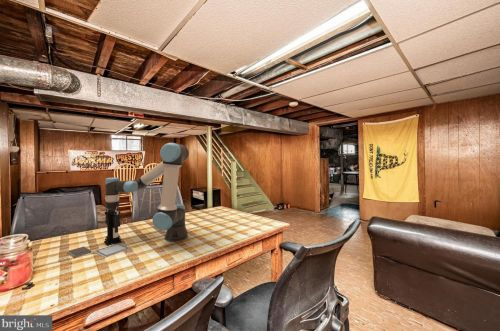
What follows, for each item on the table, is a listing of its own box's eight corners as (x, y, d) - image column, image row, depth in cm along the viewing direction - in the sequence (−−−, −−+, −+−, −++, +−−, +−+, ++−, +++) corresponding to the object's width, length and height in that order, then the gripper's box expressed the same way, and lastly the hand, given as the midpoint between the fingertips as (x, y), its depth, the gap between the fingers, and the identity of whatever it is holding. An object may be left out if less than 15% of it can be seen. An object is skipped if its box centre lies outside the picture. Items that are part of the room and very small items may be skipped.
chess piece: (103, 242, 134) (103, 212, 134) (118, 239, 140) (117, 209, 139) (107, 245, 128) (106, 214, 128) (121, 242, 134) (121, 211, 134)
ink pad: (84, 248, 124) (84, 246, 124) (91, 252, 119) (91, 249, 119) (67, 253, 117) (67, 250, 117) (74, 257, 112) (74, 255, 112)
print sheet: (119, 243, 132) (119, 242, 132) (130, 248, 124) (130, 247, 124) (93, 251, 120) (93, 250, 120) (104, 257, 112) (104, 256, 112)
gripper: (98, 200, 136) (99, 234, 136) (113, 203, 125) (114, 241, 125) (111, 198, 142) (111, 231, 142) (126, 201, 132) (126, 237, 132)
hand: (112, 236), depth 134 cm, fingers open, 7 cm apart
